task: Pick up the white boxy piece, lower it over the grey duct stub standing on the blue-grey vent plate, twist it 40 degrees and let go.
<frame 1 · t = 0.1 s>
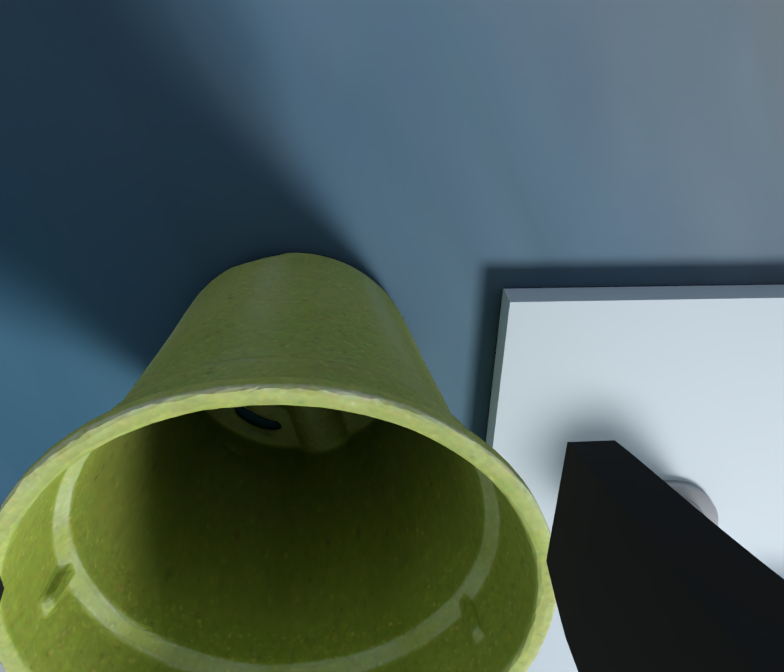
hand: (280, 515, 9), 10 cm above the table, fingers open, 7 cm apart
duct plate: (638, 532, 24), on the table
plant pot: (295, 352, 20), on the table
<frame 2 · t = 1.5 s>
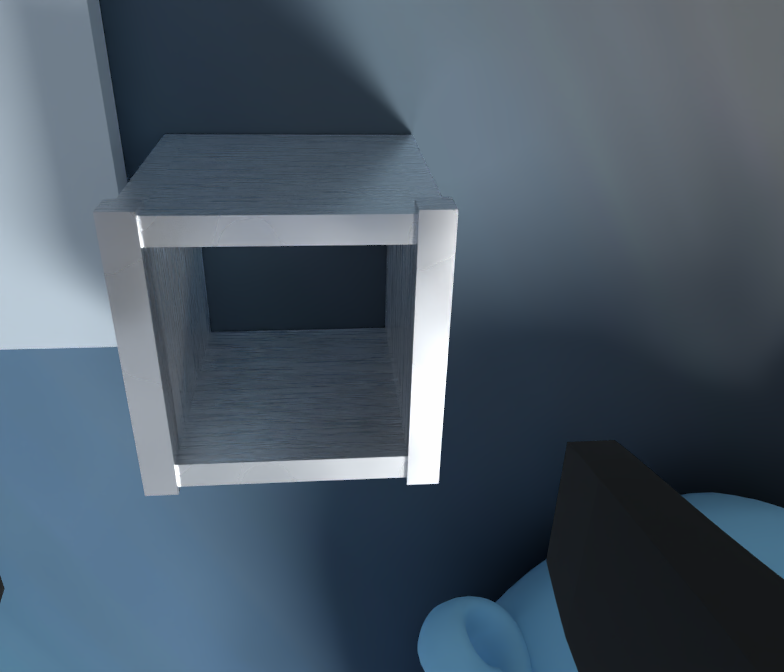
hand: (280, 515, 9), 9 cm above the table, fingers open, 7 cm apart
white boxy piece: (295, 249, 17), on the table
decorative pot: (638, 625, 25), on the table
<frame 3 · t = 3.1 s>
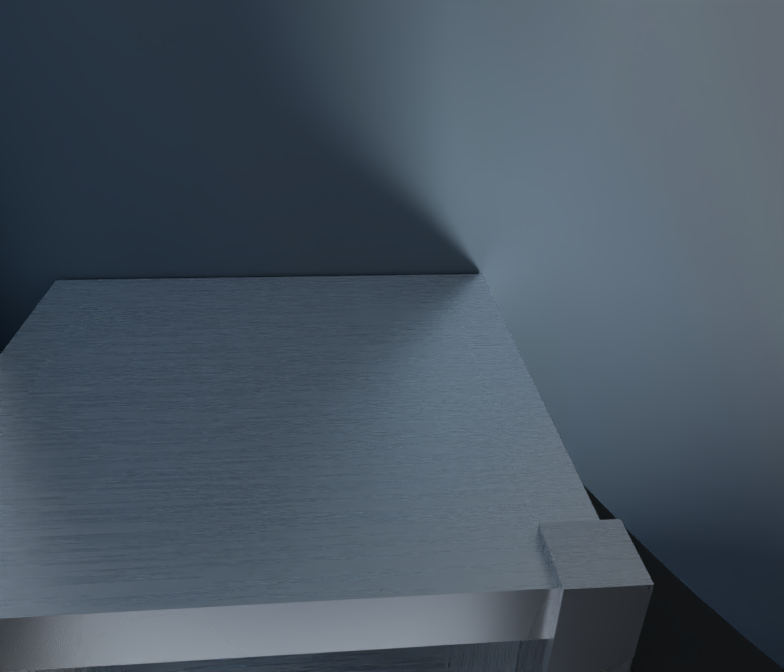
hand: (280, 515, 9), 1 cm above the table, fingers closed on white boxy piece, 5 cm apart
white boxy piece: (284, 445, 10), on the table, touching gripper
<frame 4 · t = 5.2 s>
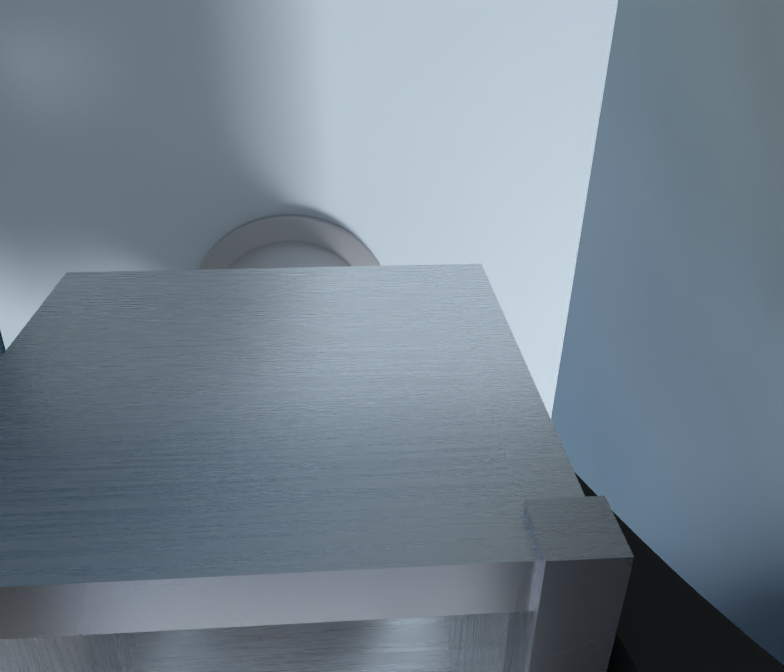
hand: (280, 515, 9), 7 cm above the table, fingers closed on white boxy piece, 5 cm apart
duct plate: (296, 333, 15), on the table
white boxy piece: (290, 433, 10), point 5 cm above the table, touching gripper
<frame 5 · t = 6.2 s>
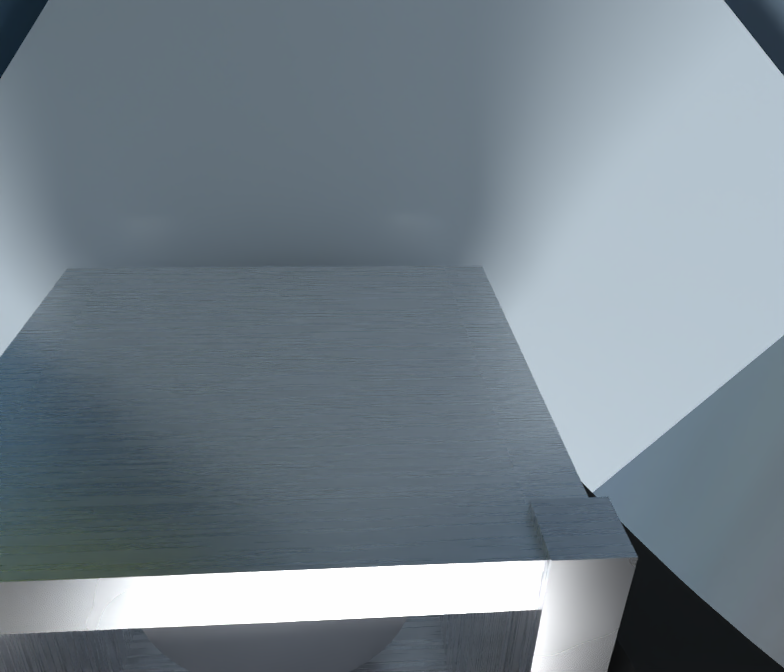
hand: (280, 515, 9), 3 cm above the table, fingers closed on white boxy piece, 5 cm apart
duct plate: (254, 406, 12), on the table
white boxy piece: (288, 431, 10), point 2 cm above the table, touching gripper
when the fingers open (3 cm above the table, at t = 7.3 s): white boxy piece stays where it is, resting on duct plate.
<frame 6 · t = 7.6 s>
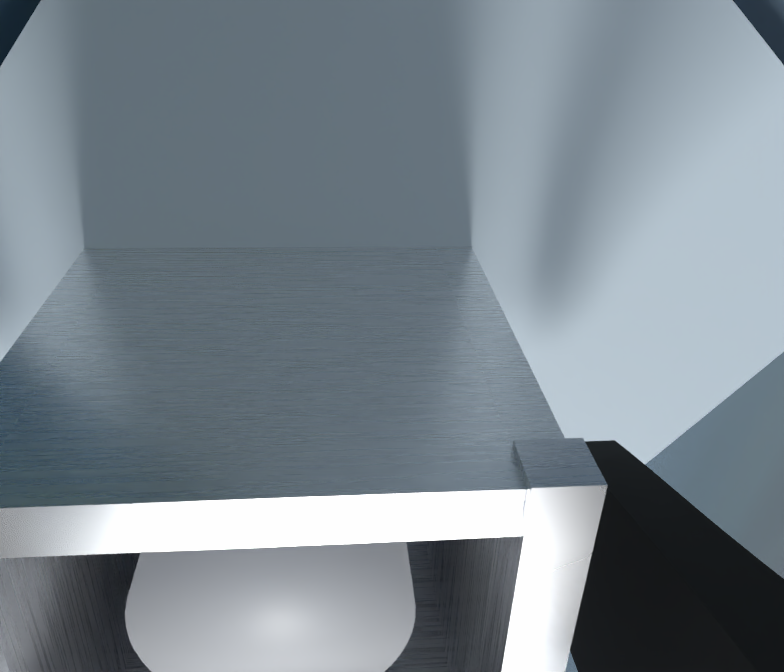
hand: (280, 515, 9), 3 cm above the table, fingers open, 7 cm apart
duct plate: (252, 416, 12), on the table
white boxy piece: (289, 405, 11), point 1 cm above the table, touching duct plate
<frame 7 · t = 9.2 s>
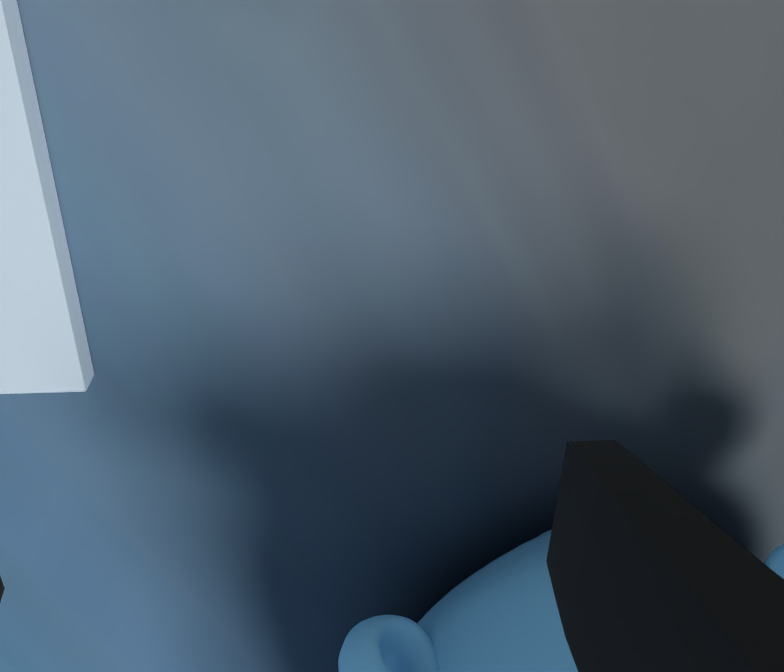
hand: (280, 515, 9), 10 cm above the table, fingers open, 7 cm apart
decorative pot: (563, 638, 26), on the table
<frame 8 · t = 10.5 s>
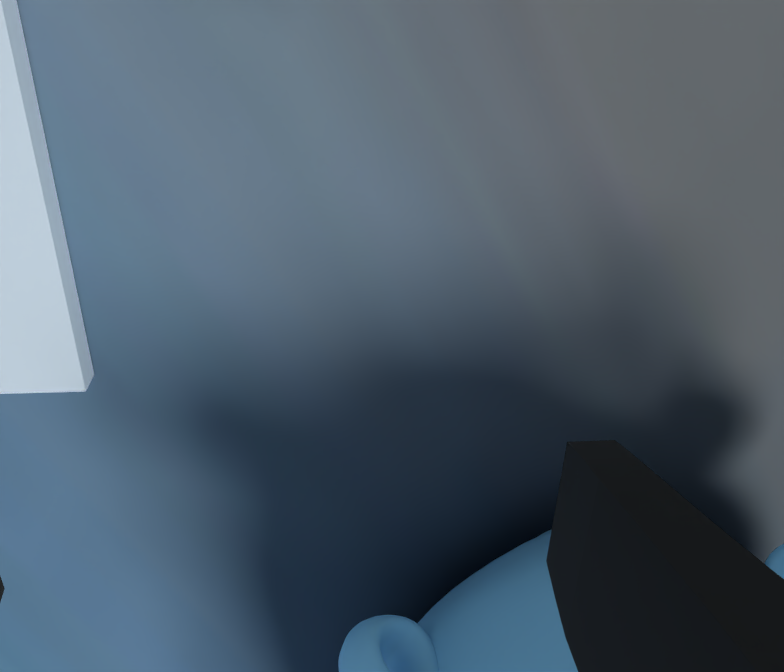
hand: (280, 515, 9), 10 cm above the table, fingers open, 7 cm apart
decorative pot: (563, 638, 26), on the table
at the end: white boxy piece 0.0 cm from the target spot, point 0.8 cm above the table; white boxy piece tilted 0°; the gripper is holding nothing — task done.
